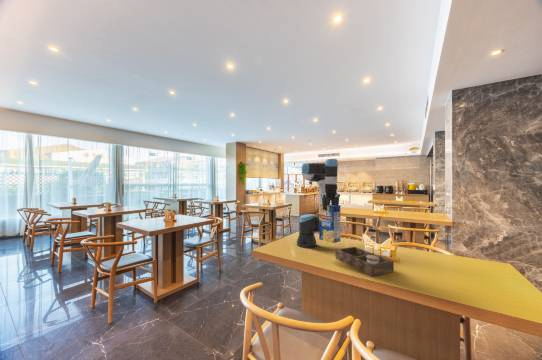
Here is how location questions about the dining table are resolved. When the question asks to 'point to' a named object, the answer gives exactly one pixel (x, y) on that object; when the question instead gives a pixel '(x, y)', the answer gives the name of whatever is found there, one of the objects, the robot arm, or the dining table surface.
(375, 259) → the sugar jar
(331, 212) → the beverage box
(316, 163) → the robot arm
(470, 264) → the dining table surface
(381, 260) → the caddy
